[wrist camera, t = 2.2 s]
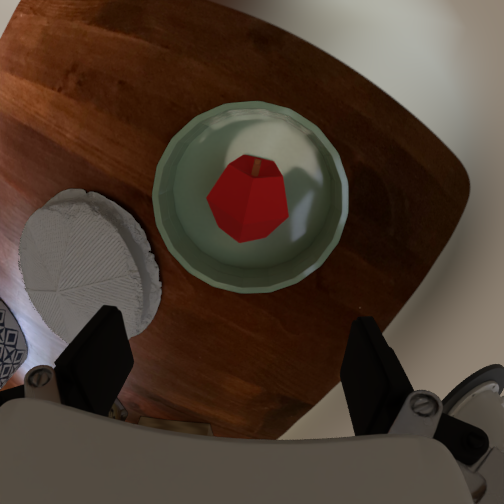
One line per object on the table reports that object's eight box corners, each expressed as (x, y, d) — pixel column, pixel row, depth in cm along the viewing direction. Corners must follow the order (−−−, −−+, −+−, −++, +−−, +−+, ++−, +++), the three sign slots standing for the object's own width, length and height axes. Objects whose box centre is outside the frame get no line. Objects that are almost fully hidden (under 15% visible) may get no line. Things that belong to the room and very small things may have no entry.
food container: (71, 341, 35) (48, 369, 29) (17, 215, 29) (-18, 230, 22) (188, 329, 33) (174, 367, 27) (131, 161, 26) (95, 167, 20)
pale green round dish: (332, 107, 24) (344, 99, 20) (334, 268, 29) (345, 288, 25) (161, 120, 25) (143, 116, 21) (181, 275, 30) (168, 295, 26)
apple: (267, 273, 24) (295, 188, 18) (192, 243, 25) (201, 158, 19) (286, 228, 29) (310, 156, 24) (224, 205, 30) (237, 133, 24)
